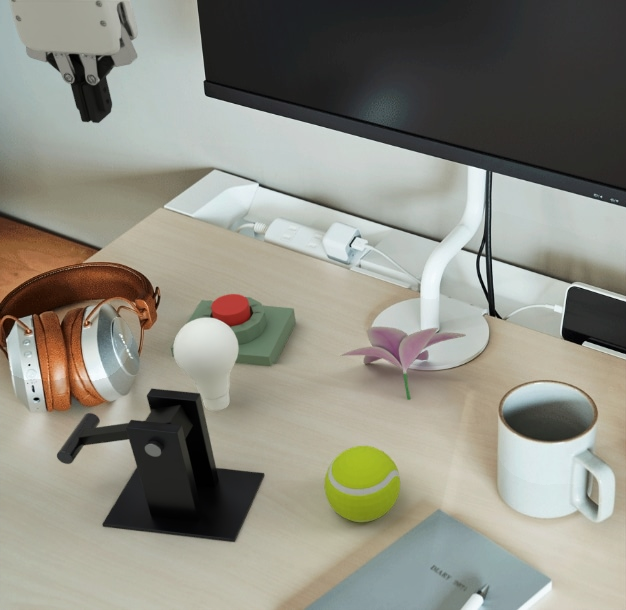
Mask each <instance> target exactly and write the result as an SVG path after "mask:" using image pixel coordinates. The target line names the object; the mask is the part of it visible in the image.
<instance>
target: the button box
mask: <svg viewBox="0 0 626 610" xmlns="http://www.w3.org/2000/svg"><path fill="white" fill-rule="evenodd" d="M245 297H246V298H247V299H248V301H249V307H250V313H251V316H250V318H249V320H248V321H246V322H245V323H243V324H241V325H236V326H232V327H230V328H231V329H232V330H233V332H234V333H235V336H236V338H237V340H238V347H239V349H238V356H237V359H236V361H235V364H244V365H250V366H251V365H252V366H262V367H271V366H272V364H274V365H276V364H277V362H278V360H279V358H280V356H281V354H282V352H283V350H284V348H285V346H286V344H287V342H288V340H289V338H290V336H291V334H292V332H293V330H294V328H295V326H296V324H297V323H296V314H295V308H293V307H282V306H272V305H263V304H262V303H261V302H260V301H258V300H256V299H254V298H252V297H251V296H245ZM214 301H215V300H208V299H201V300H200V302H199V303H198V305H197V307H196V308H195V309H194V311H193V313H192V314H191V316H190V317H189V319H188V320H187V322H186V323H185V325H186V324H187V323H189V322H191V321H193V320H195V319H199V318H213V314H212V309H211V305H212V303H213V302H214ZM173 347H174V342H173V343H172V344H171V346H170V351H171V355H172V358H174V354H173Z"/></svg>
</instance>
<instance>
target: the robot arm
mask: <svg viewBox="0 0 626 610" xmlns="http://www.w3.org/2000/svg"><path fill="white" fill-rule="evenodd" d="M8 1H9V4H10V10H11V13H12V17H13V18H12V19H13V21H14V25H15V28H16V32H17V35H18V37H19V39H20V41H21V44H23V45H24V46H25V53H26V55H27V57H29V58H31V59H34V60H37V61H40V62H43V63H48V64H49V65H50V66H52V67H53V68H54V69H55V70H56V71H57V72H58V73H60V75H61V78H62V80H63V81H64V82H65V83H66V84H69V85H70V87H71V92H72V96H73V99H74V104H75V107H76V109H77V110H78V112H79V116H80V120H81V122H82V123H90V122H92V123H93V124H99V123H101V122H102V121H103V120H104V119H105V118H106V117H108V115H110V114H111V112H112V108H113V101H112V96H111V92H110V88H109V83H108V80H107V76H108V75H110V74H111V71H112V70H113V69H114V68H119V67H123V66H128V65H131V64H132V63H134V62H135V61H136V60H137V59H138V53H137V52H136V49H135V47H134V45H133V42H132V41H134V40H135V39H137V37H138V25H137V21H136V16H135V12H134V8H133V5H132V1H131V0H8Z"/></svg>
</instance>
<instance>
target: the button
mask: <svg viewBox="0 0 626 610" xmlns="http://www.w3.org/2000/svg"><path fill="white" fill-rule="evenodd" d="M246 297H247V296H244V295H242V294H238V293H229V294H228V293H227V294H225V295H222V296H219V297H217V298H216V299H214V300H213V301H214V302H213V303H212V305H211V309H212V314H213V318H214V319H218V320H220V321H222V322H224V323H225V324H227V325H228V326H229V327H232V326H236V325H241V324H243V323H245V322H246V321H248V320H249V318H250V316H251V313H250V307H249V301H248V299H247V298H246Z"/></svg>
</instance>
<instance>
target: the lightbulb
mask: <svg viewBox="0 0 626 610" xmlns="http://www.w3.org/2000/svg"><path fill="white" fill-rule="evenodd" d="M186 323H187V322H186ZM186 323H185V324H184V325H183V326H182V327H181V328H180V329H179V330H178V332H177V333H176V335H175V338H174V341H173V343H174V347H173V354H174V357H173V358H174V361H175V362H176V364H177V366H178V368H179V370H181V371H182V372H183V374H185V375H186V376H188V377H189V378H190V379H191V380H192V381H193V383H194V385H195V387H196V389H197V393H200V395H201V400H202V404H203V406H204V407H205V409H206V410H208V411H210V412H219V411H224V410H225V409H226V408H228V406H229V405H230V401H231V400H230V389H231V383H230V382H231V381H230V377H231V371H232V369H233V368H234V366H235V364H236V363H235V361H236V359H237V356H238V349H239V347H238V340H237V338H236V336H235V333H234V332H233V330H232V329H231V328H230V327H229V326H228V325H227V324H225V323H224V322H222V321H220V320H218V319H214V318H199V319H195V320H193V321H191V322H189V323H187V324H186Z"/></svg>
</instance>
